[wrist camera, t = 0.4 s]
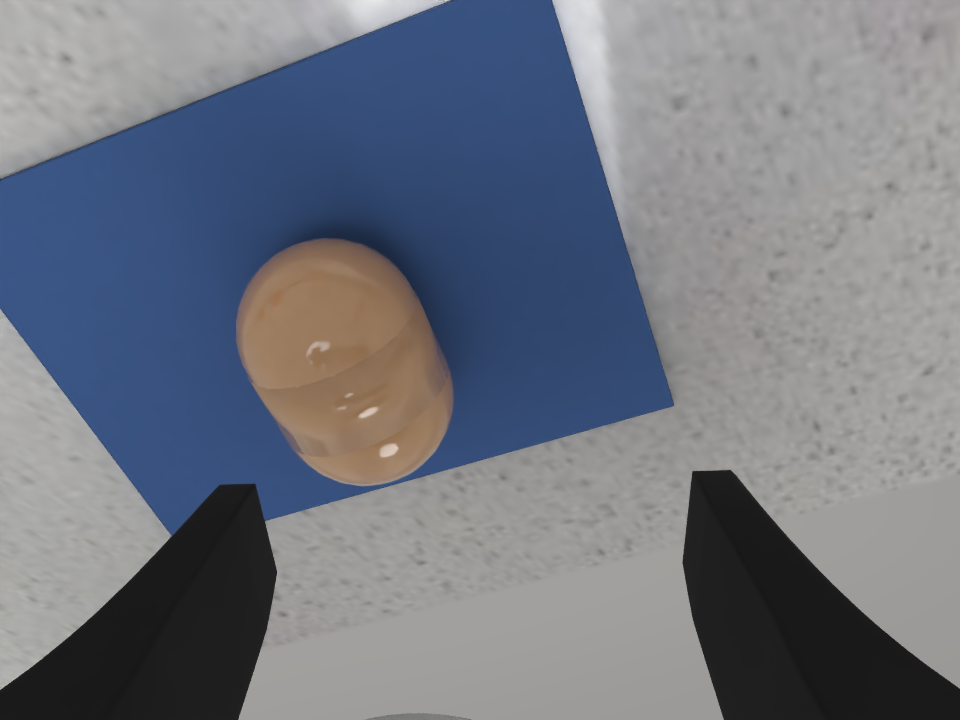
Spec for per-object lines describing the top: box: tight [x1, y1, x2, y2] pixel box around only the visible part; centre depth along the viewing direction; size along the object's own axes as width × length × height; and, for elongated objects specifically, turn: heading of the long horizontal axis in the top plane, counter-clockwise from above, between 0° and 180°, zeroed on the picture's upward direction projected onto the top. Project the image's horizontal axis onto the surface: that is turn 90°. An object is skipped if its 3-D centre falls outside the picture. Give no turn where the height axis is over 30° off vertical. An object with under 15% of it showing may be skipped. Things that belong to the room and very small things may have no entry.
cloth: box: [0, 0, 674, 536], centre depth 22 cm, size 16×12×1 cm
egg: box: [235, 238, 455, 486], centre depth 21 cm, size 6×4×4 cm
